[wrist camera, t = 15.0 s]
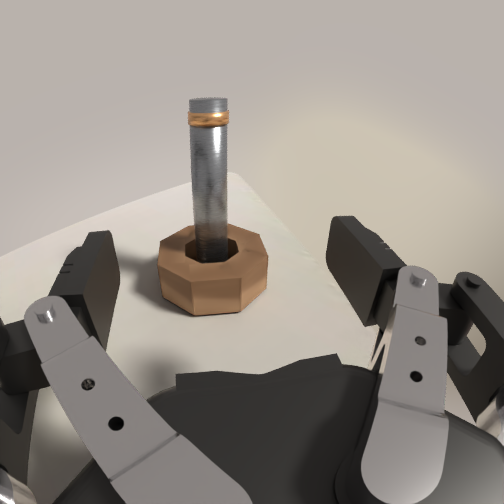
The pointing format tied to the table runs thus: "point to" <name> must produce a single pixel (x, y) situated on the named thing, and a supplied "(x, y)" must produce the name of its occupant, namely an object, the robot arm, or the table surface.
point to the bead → (212, 272)
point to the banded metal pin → (209, 177)
